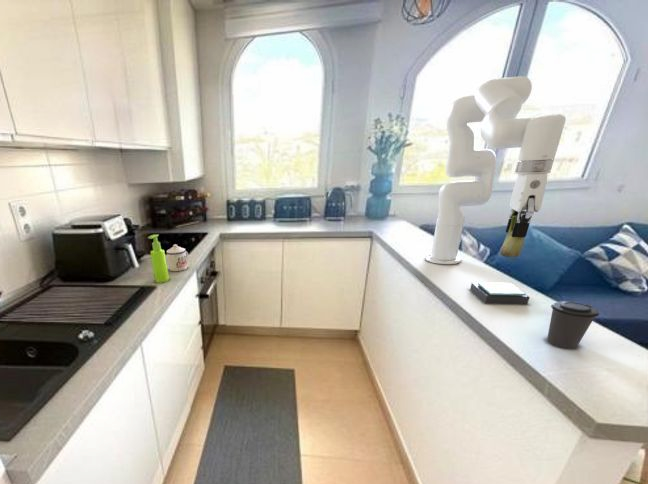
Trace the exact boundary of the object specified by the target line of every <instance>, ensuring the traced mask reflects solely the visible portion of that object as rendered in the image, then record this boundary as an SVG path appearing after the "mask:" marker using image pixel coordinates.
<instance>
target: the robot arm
mask: <svg viewBox="0 0 648 484" xmlns="http://www.w3.org/2000/svg"><path fill="white" fill-rule="evenodd" d="M532 89H533V84H532V81H531V79H530V78H529V77H527V76H525V75H518V76H510V77H508V76H507V77H499V78H498V77H497V78H493V79H490V80H488V81H485V82H484V83H482V84H481V85H480V87H478V89H477V90H476V91H475V94H474V95H467V96H463V97H460V98H457V99H456V100H454V101H453V102H452V103H451V105H450V106H449V108H448V111H447V116H446V130H447V134H448V135H447V136H448V146H447V153H446V163H445V164H446V165H445V173H446V176H447V177H449V178H455V179H456V178H473V177H474V179H473V180H456V181H455V180H454V181H450V182H446V183H445V184H443V185H442V186H441V187H440V189H439V191H438V195H437V196H438V197H437V199H438V208H437V218H436V223H435V229H434V234H433V240H432V247H431V252H430V254H428V255H427V256H426V257H425V260H426V261H427V262H429V263H433V264H437V265H455V264H459V263H461V260H462V258H461V257H460V256H458V253H459V248H460V244H461V239H462V234H463V229H464V224H465V215H464V212H463V211H462V210H461V208H462V207H463V208H464V207H475V206H476V207H477V206H482V205H486V204H487V203H488V202H489V200H490V199H491V196H492V193H493V186H494V179H495V174H496V166H497V156H496V153H495V152H494V151H493V150H492V149H494V150H495V149H496V150H501V149H514V148H515V149H516V148H520V151H519V154H518V158H517V162H516V166H515V169H514V173H513V174H514V175H517V176H516V179H515V182H514V186H513V189H512V193H511V197H510V200H509V201H510V202H509V208H510V209H511V210H510V214H509V217H508V222H507V225H506V227H505V233H507V234H508V231H509V228H510V224H511V219H512V216H518V217H517V223H515V224H514V228H513V231H512V235H511V236H512V237H525V238H526V237H527V234H528V230H529V227H530V224H531V220H532V217H533V215H534V213H538V212H540V211H541V208H542V205H543V200H544V195H545V192H546V187H547V182H548V176H549V175H548V174H550V173H551V172H552V169H553V165H554V162H555V158H556V154H557V151H558V148H559V145H560V140H561V138H562V135H563V131H564V128H565V124H566V119H567V117H566V116H565V114H562V113H556V114H555V113H554V114H553V113H552V114H544V115H537V116H524V117H516V116H518V114H519V113H520V112H521V109H522V107H523V105H524V104H525V103H526V102H527V101H528V100H529V98H530V95H531V93H532V91H533V90H532ZM469 123H481V125H480V135H481V138H482V139H483V141H484V142H485V143H486V145H487V146H488V147H490V148H491V149H489V148H483V149H480V148H479V149H476V146H475V145H476V138H477V136H476V132H475V131H474V129H473V127H472V126H471V125H470V124H469Z"/></svg>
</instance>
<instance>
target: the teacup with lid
mask: <svg viewBox="0 0 648 484" xmlns="http://www.w3.org/2000/svg"><path fill="white" fill-rule="evenodd" d="M165 254H166V255H167V263H168V268H169V269H168V270H169V271H171V272H181V271H185V270H187V269H188V261H187V260H188V259H189V252H188V251H187V250H186V248H184V247H181V246H178V244H176V243H175V244H173V245H172V247H170V248H169V249H167V250H166V253H165Z"/></svg>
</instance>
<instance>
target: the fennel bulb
mask: <svg viewBox="0 0 648 484" xmlns="http://www.w3.org/2000/svg"><path fill="white" fill-rule="evenodd" d="M517 217H518V216H512V219H511V224H510V228H509V231H508V233H507V234H506V236H505V239H504V241H503V243H502V246H501V247H500V249H499V254H500V256H502V257H505V258H518V257H519V256H520V254H521V252H522V250H523V246H524V242H525V238H526V237H512V236H511V235H512V231H513V228H514V224H515V223H517Z"/></svg>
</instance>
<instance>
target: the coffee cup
mask: <svg viewBox="0 0 648 484" xmlns="http://www.w3.org/2000/svg"><path fill="white" fill-rule="evenodd" d="M550 307H551V309H552V310H551V316H550V322H549V328H548V333H547V338H546V342H547V343H548V344H550V345H552V346H554V347H557V348H561V349H565V350H566V349H568V350H573V349H577V347H578V346H579V344H580V342H581V341H582V339H583V338H584V336H585V335H586V333H587V331H588V329H589V328H590V326H591V324H592V323H593V321H594V319H595V318H596V317H598V316H600V312H599V310H598V309H597V308H596V307H593V306H591V305H589V304H584V303H581V302H576V301H555V302H554V303H552V304H551V305H550Z"/></svg>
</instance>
